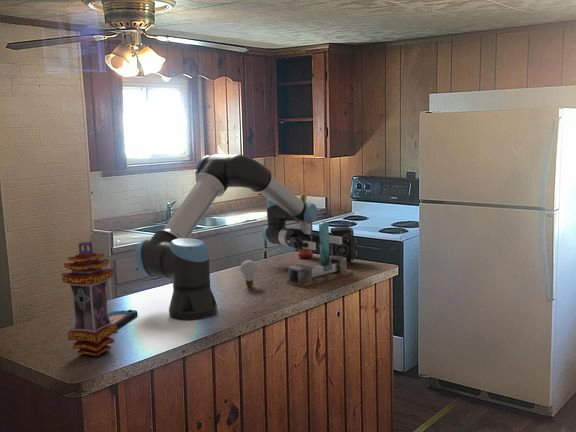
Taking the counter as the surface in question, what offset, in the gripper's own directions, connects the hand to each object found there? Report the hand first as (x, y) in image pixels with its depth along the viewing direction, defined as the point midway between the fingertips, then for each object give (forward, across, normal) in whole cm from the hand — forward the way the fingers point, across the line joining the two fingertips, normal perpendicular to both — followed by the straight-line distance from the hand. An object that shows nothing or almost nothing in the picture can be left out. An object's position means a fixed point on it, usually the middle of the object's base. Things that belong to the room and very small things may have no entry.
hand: (328, 243), depth 238 cm
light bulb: (-12, +29, -13) cm, 34 cm away
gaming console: (-7, +86, -14) cm, 88 cm away
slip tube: (-2, +2, -12) cm, 12 cm away
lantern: (+14, +99, -13) cm, 101 cm away
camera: (-13, -21, -14) cm, 28 cm away
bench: (-2, +3, -13) cm, 14 cm away
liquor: (-35, -19, -14) cm, 42 cm away
